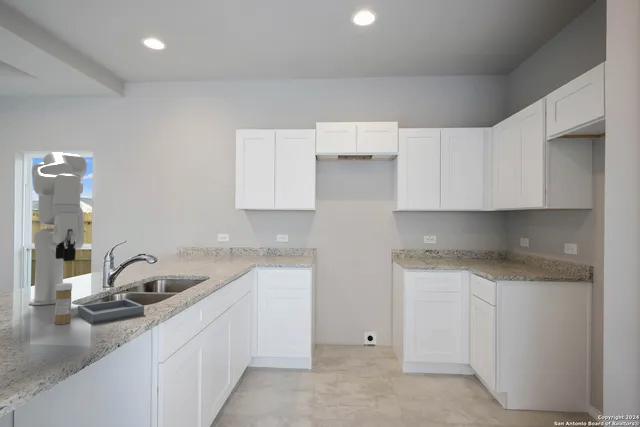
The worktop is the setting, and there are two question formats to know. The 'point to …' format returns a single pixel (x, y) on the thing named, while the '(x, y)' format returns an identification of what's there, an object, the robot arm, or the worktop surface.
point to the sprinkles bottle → (63, 303)
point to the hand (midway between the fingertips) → (65, 259)
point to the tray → (110, 310)
